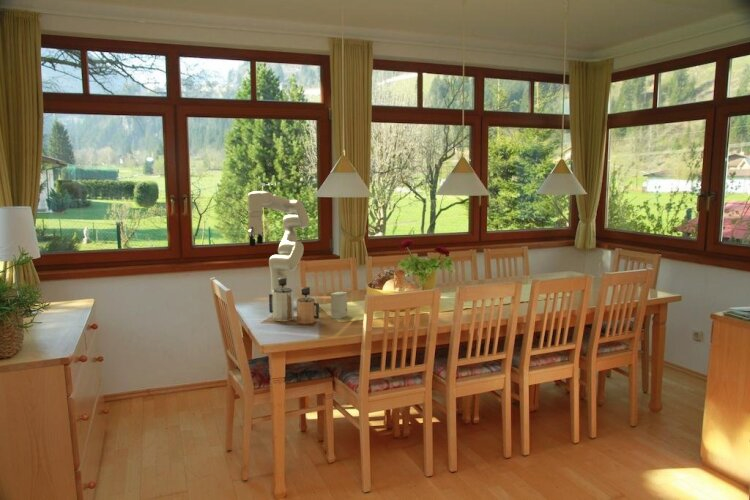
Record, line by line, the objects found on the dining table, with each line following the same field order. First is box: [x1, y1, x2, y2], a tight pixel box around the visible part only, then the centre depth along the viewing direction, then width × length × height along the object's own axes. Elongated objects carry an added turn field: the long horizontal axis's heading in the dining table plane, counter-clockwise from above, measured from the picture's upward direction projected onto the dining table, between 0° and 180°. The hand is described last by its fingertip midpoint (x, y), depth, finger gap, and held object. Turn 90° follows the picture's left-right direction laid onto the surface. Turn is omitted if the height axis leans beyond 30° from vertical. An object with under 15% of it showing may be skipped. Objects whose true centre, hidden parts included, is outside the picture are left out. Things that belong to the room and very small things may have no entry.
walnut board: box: [260, 314, 325, 328], centre depth 310 cm, size 18×30×1 cm, turn 77°
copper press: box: [296, 296, 320, 324], centre depth 306 cm, size 10×12×13 cm
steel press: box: [268, 287, 295, 322], centre depth 311 cm, size 11×13×17 cm
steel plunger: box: [278, 277, 288, 290], centre depth 310 cm, size 8×8×19 cm
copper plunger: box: [301, 286, 311, 300], centre depth 305 cm, size 6×6×15 cm
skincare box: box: [330, 291, 348, 320], centre depth 317 cm, size 8×6×15 cm
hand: (256, 244), depth 322 cm, fingers open, 9 cm apart
